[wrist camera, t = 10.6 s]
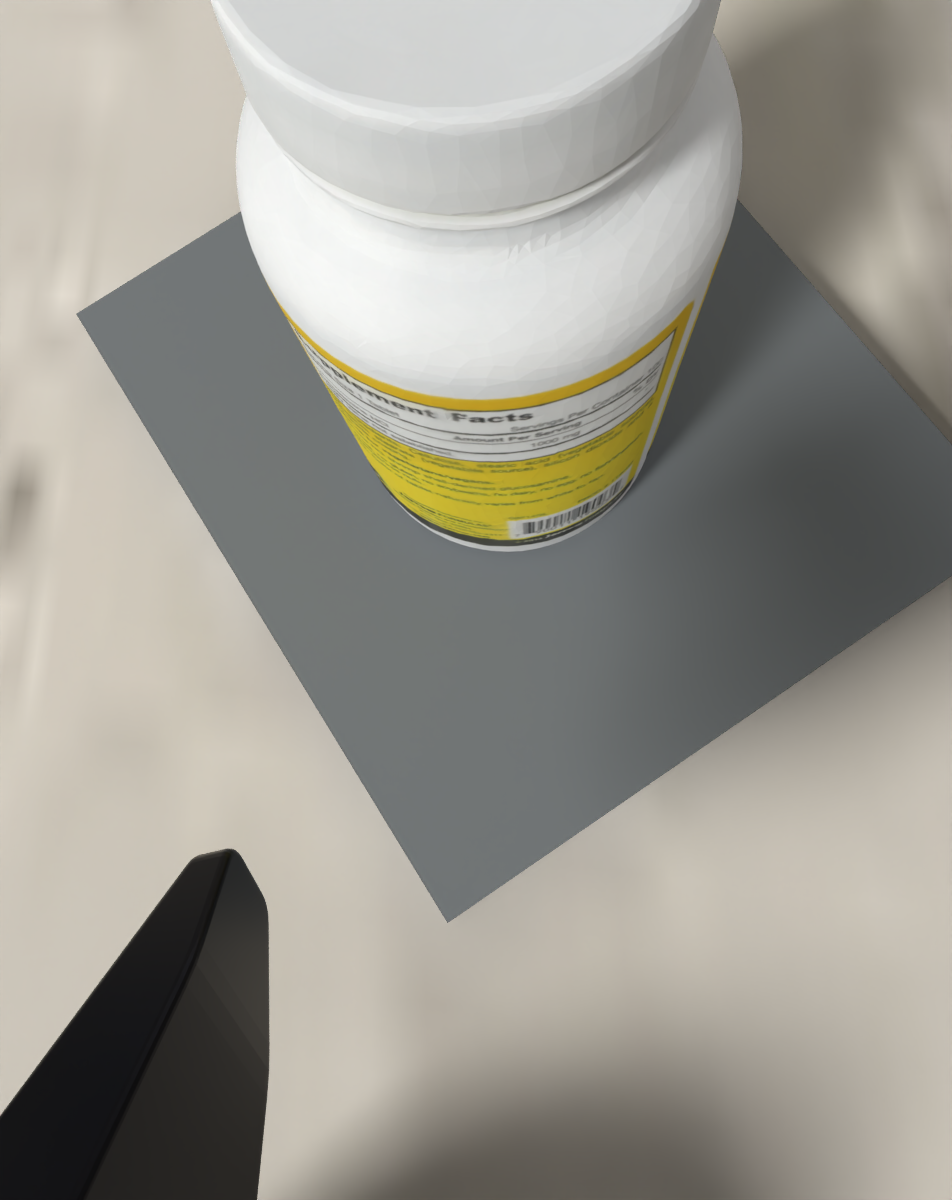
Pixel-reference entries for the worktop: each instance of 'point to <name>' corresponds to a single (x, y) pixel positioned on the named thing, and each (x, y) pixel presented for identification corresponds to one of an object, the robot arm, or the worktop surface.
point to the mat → (544, 552)
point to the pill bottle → (489, 234)
